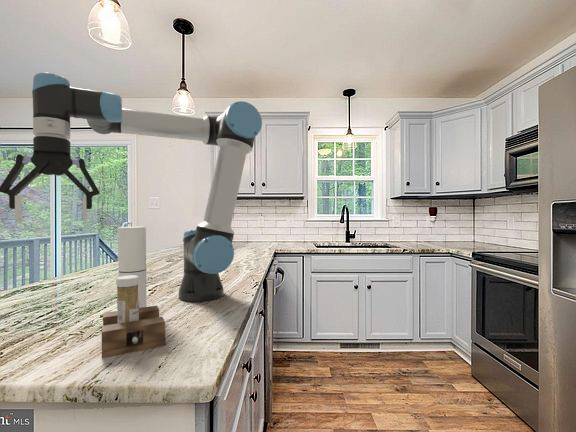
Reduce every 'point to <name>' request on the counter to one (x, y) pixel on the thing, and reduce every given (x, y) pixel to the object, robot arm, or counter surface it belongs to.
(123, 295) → the sprinkles bottle
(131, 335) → the plunger
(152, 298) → the counter surface
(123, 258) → the cylindrical container
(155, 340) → the socket
